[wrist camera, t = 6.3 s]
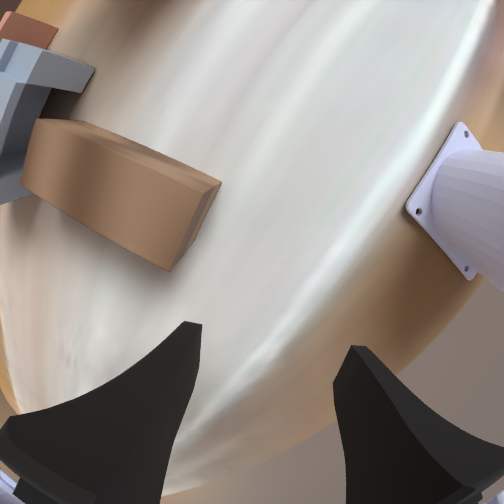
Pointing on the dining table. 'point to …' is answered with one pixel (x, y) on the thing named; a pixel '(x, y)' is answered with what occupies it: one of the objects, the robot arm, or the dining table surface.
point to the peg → (118, 188)
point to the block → (28, 103)
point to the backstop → (26, 30)
